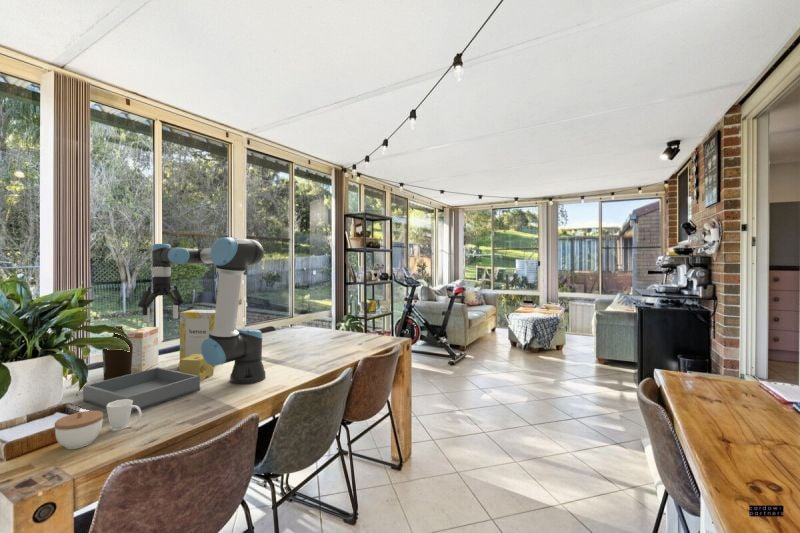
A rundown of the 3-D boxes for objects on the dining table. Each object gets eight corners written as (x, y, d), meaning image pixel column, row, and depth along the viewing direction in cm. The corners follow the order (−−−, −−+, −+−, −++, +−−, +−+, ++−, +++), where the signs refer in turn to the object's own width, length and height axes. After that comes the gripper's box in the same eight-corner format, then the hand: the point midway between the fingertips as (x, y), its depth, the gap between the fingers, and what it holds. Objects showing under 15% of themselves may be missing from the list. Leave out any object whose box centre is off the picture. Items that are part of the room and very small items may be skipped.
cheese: (213, 375, 174) (213, 354, 173) (199, 382, 163) (199, 360, 163) (193, 374, 175) (193, 353, 175) (177, 381, 164) (177, 359, 164)
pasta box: (179, 366, 187) (180, 312, 186) (191, 361, 197) (192, 309, 197) (214, 367, 186) (215, 312, 186) (225, 361, 197) (225, 310, 197)
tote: (199, 390, 153) (199, 375, 153) (126, 414, 128) (126, 397, 127) (157, 380, 165) (157, 367, 165) (83, 401, 139) (83, 385, 139)
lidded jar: (45, 448, 104) (46, 416, 104) (89, 432, 114) (89, 403, 114) (68, 456, 100) (68, 422, 100) (111, 439, 110) (111, 408, 110)
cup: (115, 423, 121) (116, 398, 121) (147, 422, 122) (147, 398, 122) (100, 432, 114) (100, 407, 114) (133, 432, 115) (134, 406, 115)
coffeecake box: (144, 363, 191) (145, 326, 191) (159, 363, 191) (159, 326, 191) (126, 372, 176) (126, 332, 176) (142, 372, 177) (142, 332, 176)
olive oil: (135, 378, 168) (135, 323, 167) (129, 385, 158) (129, 327, 158) (106, 380, 163) (106, 325, 163) (98, 388, 153) (99, 329, 153)
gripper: (181, 275, 188) (181, 316, 188) (128, 276, 165) (128, 323, 165) (191, 275, 185) (191, 317, 185) (138, 276, 162) (138, 324, 162)
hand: (161, 320), depth 175 cm, fingers open, 13 cm apart
